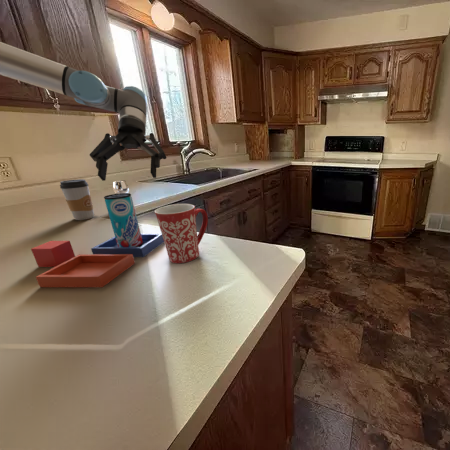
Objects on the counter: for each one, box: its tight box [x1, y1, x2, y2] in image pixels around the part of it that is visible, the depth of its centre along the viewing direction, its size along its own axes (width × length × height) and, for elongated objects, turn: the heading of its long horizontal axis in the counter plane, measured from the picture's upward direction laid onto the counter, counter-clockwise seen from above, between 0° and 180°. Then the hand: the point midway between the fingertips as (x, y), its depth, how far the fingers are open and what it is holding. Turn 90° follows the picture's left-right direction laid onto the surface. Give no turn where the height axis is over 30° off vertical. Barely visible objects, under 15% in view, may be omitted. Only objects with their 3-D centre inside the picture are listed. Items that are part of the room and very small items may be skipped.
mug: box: [154, 203, 209, 264], centre depth 64 cm, size 13×9×14 cm
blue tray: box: [90, 233, 164, 258], centre depth 70 cm, size 14×11×3 cm
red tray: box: [35, 253, 136, 288], centre depth 56 cm, size 14×11×3 cm
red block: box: [30, 240, 76, 268], centre depth 62 cm, size 5×5×5 cm
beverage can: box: [103, 192, 143, 247], centre depth 67 cm, size 6×6×15 cm
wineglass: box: [112, 179, 130, 194], centre depth 113 cm, size 6×6×12 cm
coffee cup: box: [59, 178, 95, 221], centre depth 97 cm, size 8×8×15 cm
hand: (128, 176), depth 73 cm, fingers open, 13 cm apart
